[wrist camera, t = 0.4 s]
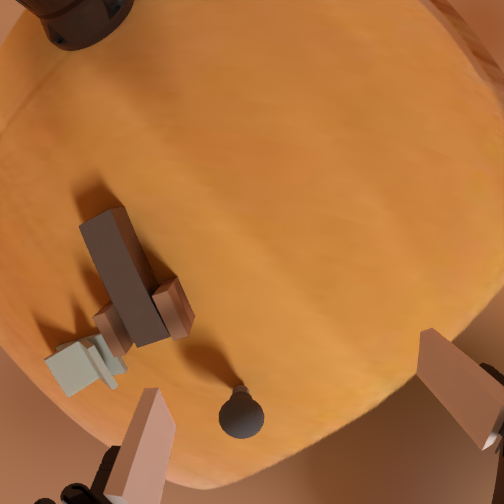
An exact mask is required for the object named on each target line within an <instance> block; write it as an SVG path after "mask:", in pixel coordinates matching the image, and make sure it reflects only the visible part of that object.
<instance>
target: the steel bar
mask: <svg viewBox="0 0 504 504" xmlns="http://www.w3.org/2000/svg"><path fill="white" fill-rule="evenodd" d="M79 229H80V231H81V234H82V236H83V238H84V241H85V243H86V246H87V248H88V250H89V253H90V255H91V257H92V260H93V262H94V264H95V266H96V269H97V271H98V273H99V275H100V277H101V279H102V282H103V284H104V286H105V288H106V290H107V292H108V294H109V296H110V298H111V300H112V302H113V304H114V306H115V308H116V310H117V312H118V314H119V315H120V317H121V319H122V321H123V323H124V325H125V327H126V328H127V330H128V332H129V334H130V336H131V337H132V339H133V341H134V343H135V344H136V346H137V348H138V347H141V346H144V345H147V344H150V343H153V342H156V341H159V340H162V339H165V338H168V337H170V336H171V335H170V333H169V331H168V329H167V327H166V325H165V323H164V321H163V319H162V317H161V315H160V312H159V310H158V308H157V306H156V304H155V302H154V300H153V297H152V295H153V294H154V293H155V292H156V290H157V289H158V288H159V287H160V286H159V284H158V282H157V280H156V278H155V276H154V274H153V271H152V269H151V267H150V265H149V263H148V261H147V258H146V256H145V254H144V252H143V249H142V247H141V245H140V243H139V240H138V238H137V236H136V233H135V231H134V228H133V226H132V224H131V221H130V219H129V216H128V214H127V211H126V209H125V207H118V208H112V209H109V210H107V211H105V212H103V213H101V214H99V215H98V216H96V217H94V218H92V219H90V220H89V221H87V222H85V223H83V224H81V225H80V226H79Z"/></svg>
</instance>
